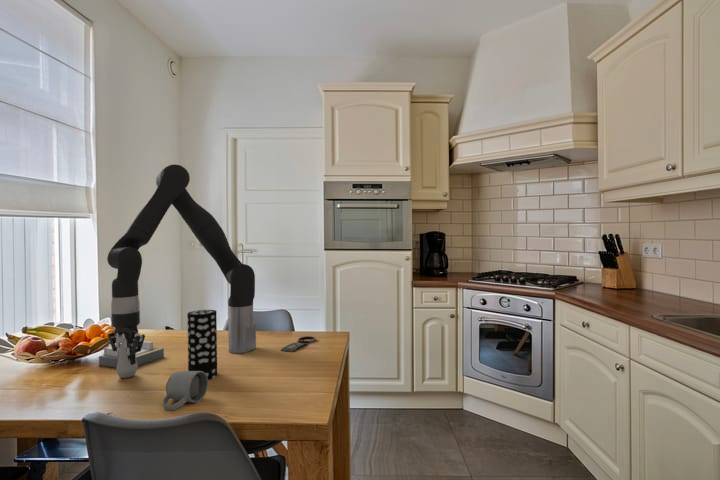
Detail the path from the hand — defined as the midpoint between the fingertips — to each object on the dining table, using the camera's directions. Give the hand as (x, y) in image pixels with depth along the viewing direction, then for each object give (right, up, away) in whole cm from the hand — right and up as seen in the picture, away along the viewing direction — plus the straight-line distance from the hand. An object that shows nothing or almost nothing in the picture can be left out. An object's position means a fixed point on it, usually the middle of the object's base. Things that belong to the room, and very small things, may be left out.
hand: (127, 365), depth 116 cm
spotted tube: (+24, -3, -1) cm, 24 cm away
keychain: (+49, -4, +33) cm, 59 cm away
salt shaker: (0, -3, 0) cm, 3 cm away
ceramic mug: (+27, -3, -19) cm, 33 cm away
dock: (-8, -4, +16) cm, 18 cm away
